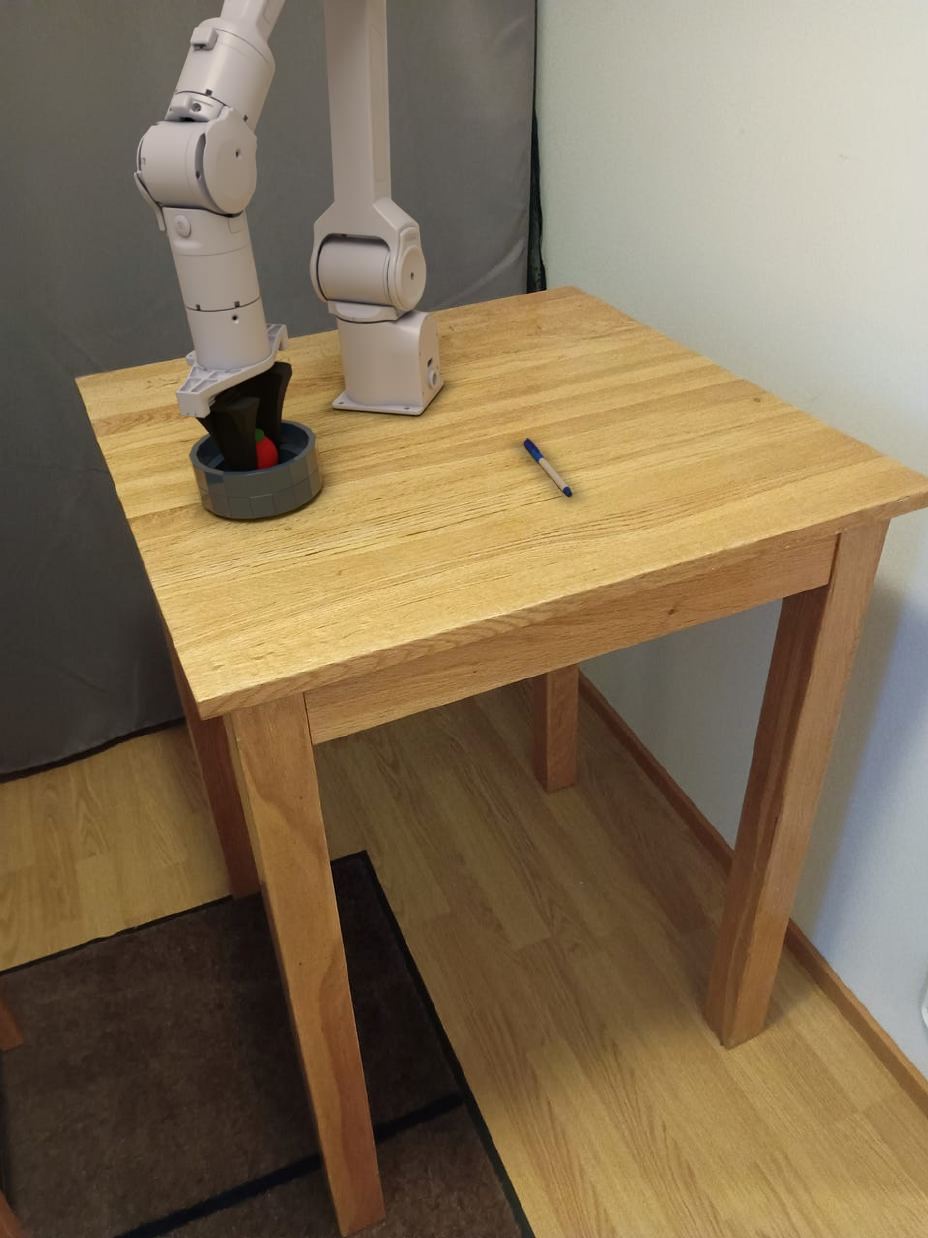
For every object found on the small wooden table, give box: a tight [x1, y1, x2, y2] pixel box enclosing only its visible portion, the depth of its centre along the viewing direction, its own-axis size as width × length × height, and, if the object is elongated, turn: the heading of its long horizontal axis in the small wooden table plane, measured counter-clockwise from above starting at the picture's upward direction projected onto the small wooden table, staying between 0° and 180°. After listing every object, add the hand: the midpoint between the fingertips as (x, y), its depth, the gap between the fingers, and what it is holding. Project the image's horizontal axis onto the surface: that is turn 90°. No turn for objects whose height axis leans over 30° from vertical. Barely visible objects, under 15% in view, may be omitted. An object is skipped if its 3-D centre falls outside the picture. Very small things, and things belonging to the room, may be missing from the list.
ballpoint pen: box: [523, 437, 573, 497], centre depth 80 cm, size 10×1×1 cm, turn 19°
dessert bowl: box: [188, 418, 324, 520], centre depth 79 cm, size 10×10×4 cm
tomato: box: [255, 428, 278, 470], centre depth 78 cm, size 4×4×4 cm
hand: (256, 461), depth 78 cm, fingers closed on tomato, 3 cm apart
